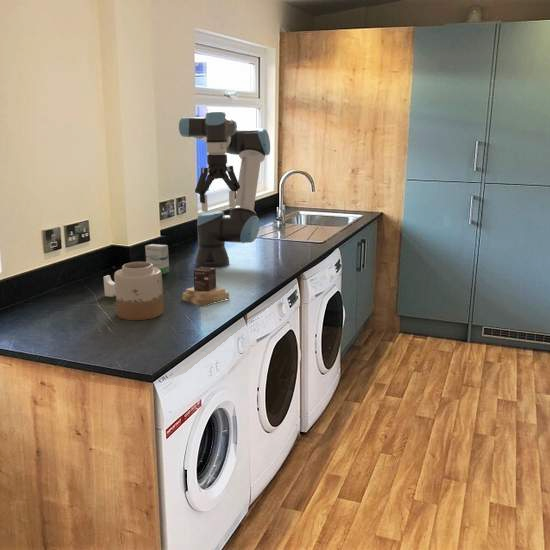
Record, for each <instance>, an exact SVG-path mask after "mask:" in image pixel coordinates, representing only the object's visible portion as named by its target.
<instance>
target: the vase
mask: <svg viewBox="0 0 550 550" xmlns="http://www.w3.org/2000/svg"><path fill="white" fill-rule="evenodd" d="M113 278H114V282H115V292H116V296H115V304H116V313H117V315H116V316H117V317H118V318H120V319H122V320H127V321H146V320H150V319H155V318H158V317H160V316H162V315H163V313H164V293H163V292H164V291H163V290H164V289H163V274H162V273H161V270H160V269H159V268H156V267H153V265H152V263H149V262H146V261H132V262H128V263H124V264H123V265H122V266H121V269H117V270H116V271H115V272H114V276H113Z"/></svg>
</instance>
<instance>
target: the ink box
mask: <svg viewBox="0 0 550 550" xmlns="http://www.w3.org/2000/svg"><path fill="white" fill-rule="evenodd" d="M144 248H145V262H149V263H152V265H153V267H156V268H159V269H160V270H161V273H162V275H166V274H168V273H170V261H169V259H170V258H169V245H167V244H158V243H157V244H156V243H151V244H147V245H144Z"/></svg>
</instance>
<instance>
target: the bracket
mask: <svg viewBox="0 0 550 550" xmlns="http://www.w3.org/2000/svg"><path fill="white" fill-rule="evenodd" d="M102 278H103V287H104V288H103V289H104V297H110V298H111V297H116V292H115V281H113V280H112V278H111V275H109V274H107V275H105V276H103V277H102Z"/></svg>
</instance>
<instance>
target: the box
mask: <svg viewBox="0 0 550 550" xmlns="http://www.w3.org/2000/svg"><path fill="white" fill-rule="evenodd" d="M216 286H217V268H210V267H198V268H195V269H193V287H194V290H200V291H210V290H212V289H214V288H216Z"/></svg>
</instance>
